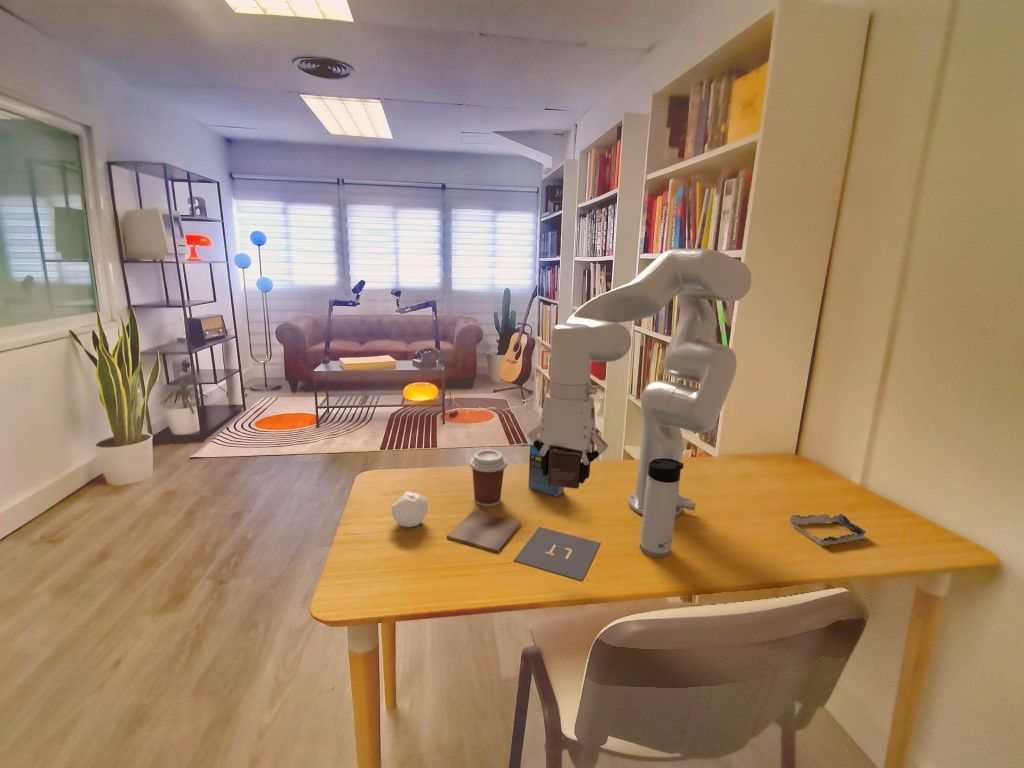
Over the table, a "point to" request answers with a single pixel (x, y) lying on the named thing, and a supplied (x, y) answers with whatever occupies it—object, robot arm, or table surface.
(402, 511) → the white rounded piece
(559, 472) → the box
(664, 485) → the travel mug
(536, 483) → the label tape cartridge
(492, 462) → the coffee cup
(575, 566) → the mat
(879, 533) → the table surface
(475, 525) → the walnut pad
